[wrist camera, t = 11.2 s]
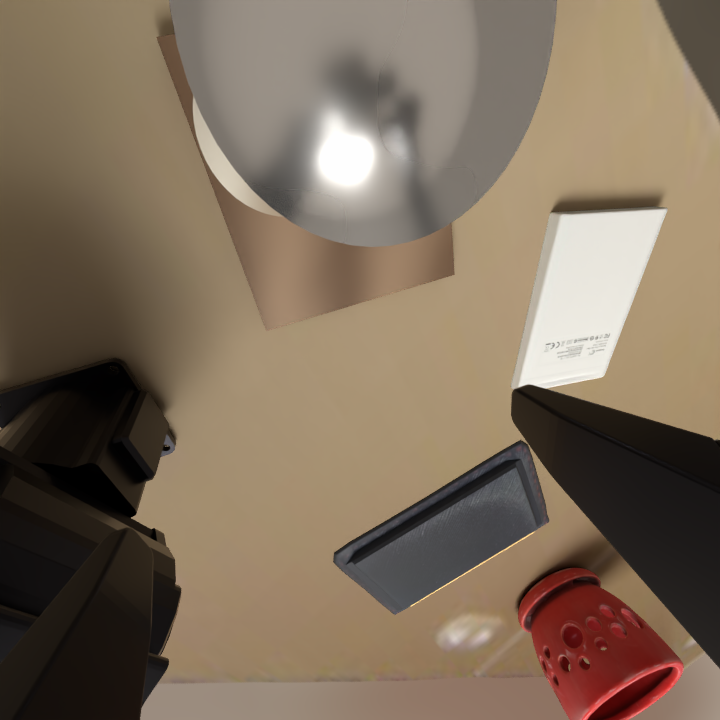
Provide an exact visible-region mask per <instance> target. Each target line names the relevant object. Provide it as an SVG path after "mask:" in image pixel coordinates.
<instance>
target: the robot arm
mask: <svg viewBox="0 0 720 720" xmlns="http://www.w3.org/2000/svg"><path fill="white" fill-rule="evenodd" d="M110 366H115V367H117V368H118V369H119V371H113V370H112V369H111V368H110ZM0 405H1V406H0V427H1V428H2V429H1V430H0V720H140V714H141V708H142V706H143V704H144V702H145V701H146V699H147V698H148V696H149V695H150V693H151V692H152V690H153V689H154V687H155V686H156V685H157V683H158V682H159V680H160V679H161V677H162V676H163V674H164V673H165V671H166V670H167V667H168V665H169V660H168V658H165V657H162V656H161V654H162V652H163V650H164V648H165V645H166V643H167V641H168V638H169V636H170V633H171V629H172V626H173V623H174V620H175V618H176V615H177V611H178V607H179V602H180V598H181V587H180V586H178V585H176V584H175V582H176V576H175V559H174V557H173V555H172V554H171V552H170V550H169V548H168V547H166V542H165V537H164V533H162V532H160V531H158V530H157V529H155V528H153V529H149V528H148V527H146V526H144V525H142V524H140V523H139V522H137V521H135V520H133V519H131V517H133V516H135V515H136V513H137V510H138V507H139V503H140V500H141V497H142V493H143V490H144V487H145V483H146V482H147V481H149V480H152V479H153V478H154V476H155V474H156V471H157V467H158V464H159V460H160V457H162V456H165V455H168V454H170V453H172V452H173V451H174V450H175V445H176V441H175V439H174V438H173V436H172V435H171V433H170V432H169V430H168V428H169V424H168V422H167V420H166V419H165V417H164V416H163V414H162V412H161V411H160V409H159V408H158V406H157V405H156V403H155V401H154V400H153V398H152V397H151V395H150V394H149V392H148V391H146V390H143V389H142V388H141V387H140V385H139V383H138V382H137V380H136V379H135V377H134V376H133V374H132V372H131V371H130V369H129V368H128V366H127V365H126V363H125V362H124V361H122V360H120V359H117V358H111V359H107V360H104V361H100V362H97V363H94V364H90V365H87V366H83V367H80V368H77V369H73V370H70V371H66V372H63V373H60V374H56V375H53V376H49V377H46V378H43V379H39V380H36V381H32V382H29V383H25V384H22V385H19V386H15V387H12V388H8V389H5V390H2V391H0ZM511 416H512V420H513V422H514V424H515V425H516V427H517V428H518V430H519V431H520V433H521V434H522V435H523V437H524V438H525V440H526V441H527V442H528V444H529V445H530V447H531V448H532V449H533V451H534V452H535V454H536V455H537V457H538V458H539V459H540V461H541V462H542V464H543V465H544V466H545V468H546V469H547V470H548V472H549V473H550V474H551V476H552V477H553V478H554V479H555V480H556V482H557V483H558V484H559V485H560V486H561V487H562V489H563V490H564V491H565V492H566V493H567V494H568V495H569V497H570V498H571V499H572V500H573V501H574V502H575V503H576V505H577V506H578V507H579V508H580V509H581V510H582V511H583V513H584V514H585V515H586V516H587V517H588V518H589V519H590V521H591V522H592V523H593V524H594V525H595V526H596V528H597V529H598V530H599V531H600V532H601V533H602V534H603V536H604V537H605V538H606V539H607V540H608V541H609V542H610V544H611V545H612V546H613V547H614V548H615V549H616V550H617V552H618V553H619V554H620V555H621V556H622V557H623V558H624V560H625V561H626V562H627V563H628V564H629V565H630V566H631V568H632V569H633V570H634V571H635V572H636V573H637V574H638V576H639V577H640V578H641V579H642V580H643V581H644V582H645V584H646V585H647V586H648V587H649V588H650V589H651V591H652V592H653V593H654V594H655V595H656V596H657V597H658V599H659V600H660V601H661V602H662V603H663V604H664V605H665V607H666V608H667V609H668V610H669V611H670V612H671V613H672V615H673V616H674V617H675V618H676V619H677V620H678V621H679V623H680V624H681V625H682V626H683V627H684V628H685V629H686V631H687V632H688V633H689V634H690V635H691V636H692V637H693V639H694V640H695V641H696V642H697V643H698V644H699V645H700V647H701V648H702V649H703V650H704V651H705V652H706V654H707V655H708V656H709V657H710V658H711V659H712V660H713V662H714V663H715V664H716V665H717V666H718V667H719V668H720V440H713V439H712V438H710V437H707V436H704V435H700V434H697V433H694V432H690V431H687V430H683V429H680V428H677V427H673V426H670V425H666V424H663V423H660V422H656V421H653V420H650V419H646V418H643V417H639V416H636V415H633V414H629V413H626V412H623V411H619V410H616V409H612V408H609V407H606V406H602V405H599V404H596V403H592V402H589V401H585V400H582V399H579V398H575V397H572V396H568V395H565V394H562V393H558V392H555V391H552V390H548V389H545V388H541V387H538V386H535V385H531V384H527V385H524V386H521V387H518V388H516V389H514V390H513V392H512V403H511ZM164 445H169V447H165V446H164Z"/></svg>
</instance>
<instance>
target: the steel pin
mask: <svg viewBox="0 0 720 720" xmlns="http://www.w3.org/2000/svg"><path fill="white" fill-rule="evenodd" d="M169 3H170V11H171V16H172V21H173V27H174V32H175V37H176V43H177V47H178V51H179V54H180V57H181V61H182V64H183V67H184V71H185V74H186V78H187V81H188V84H189V86H190V89H191V91H192V93H193V96H194V98H195V101H196V103H197V106H198V108H199V111H200V113H201V115H202V117H203V119H204V121H205V123H206V125H207V126H208V128H209V130H210V132H211V134H212V136H213V138H214V139H215V141H216V143H217V145H218V146H219V148H220V149H221V151H222V152H223V154H224V155H225V156H226V158H227V159H228V161H229V162H230V164H231V165H232V167H233V168H234V169H235V171H236V172H237V173H238V174H239V175H240V176H241V178H242V179H243V180H244V181H245V182H246V183H247V185H248V186H249V187H250V188H251V189H252V190H253V191H254V192H255V193H256V194H257V195H258V196H259V197H260V198H261V199H262V200H263V201H264V202H266V203H267V204H268V205H269V206H270V207H271V208H272V209H274V210H275V211H276V212H278V213H279V214H281V215H282V216H283V217H285V218H286V219H288V220H289V221H290V222H292V223H294V224H295V225H297V226H299V227H301V228H303V229H305V230H307V231H308V232H310V233H312V234H315V235H318V236H320V237H323V238H326V239H328V240H331V241H335V242H339V243H344V244H348V245H354V246H366V247H379V246H392V245H397V244H402V243H407V242H411V241H414V240H416V239H419V238H422V237H425V236H428V235H430V234H432V233H434V232H436V231H438V230H440V229H442V228H444V227H445V226H447V225H448V224H450V223H451V222H453V221H454V220H456V219H457V218H459V217H460V216H462V215H463V214H464V213H465V212H466V211H468V210H469V209H470V208H471V207H472V206H473V205H475V204H476V203H477V202H478V201H479V200H480V199H481V198H482V197H483V196H484V195H485V193H486V192H487V191H488V190H489V189H490V188H491V187H492V186H493V185H494V183H495V182H496V181H497V179H498V178H499V177H500V175H501V174H502V173H503V171H504V170H505V169H506V167H507V166H508V164H509V162H510V161H511V159H512V157H513V156H514V154H515V152H516V151H517V149H518V148H519V146H520V143H521V141H522V139H523V137H524V135H525V133H526V131H527V129H528V127H529V125H530V123H531V120H532V117H533V115H534V112H535V110H536V107H537V104H538V102H539V99H540V95H541V92H542V88H543V85H544V82H545V78H546V75H547V70H548V65H549V60H550V55H551V50H552V45H553V37H554V28H555V20H556V4H557V0H169Z"/></svg>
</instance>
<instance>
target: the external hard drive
mask: <svg viewBox="0 0 720 720" xmlns="http://www.w3.org/2000/svg"><path fill="white" fill-rule="evenodd" d="M666 212H667V208H664V207H639V208H621V209H604V210H586V211H567V212H551V213H550V215H549V220H548V224H547V229H546V233H545V237H544V242H543V246H542V251H541V255H540V260H539V264H538V269H537V273H536V277H535V282H534V286H533V291H532V295H531V300H530V304H529V308H528V313H527V317H526V322H525V326H524V330H523V335H522V339H521V344H520V348H519V352H518V357H517V361H516V366H515V370H514V375H513V379H512V383H511V387H512V388H513V389H516V388H518V387H521V386H524V385H527V384H531V385H535V386H538V387H541V388H549V387H555V386H560V385H565V384H570V383H576V382H580V381H585V380H591V379H596V378H601V377H603V376H604V375H605V372H606V370H607V367H608V365H609V361H610V359H611V356H612V354H613V351H614V349H615V346H616V343H617V341H618V338H619V336H620V333H621V330H622V328H623V325H624V323H625V320H626V317H627V315H628V312H629V310H630V307H631V304H632V302H633V299H634V297H635V294H636V291H637V289H638V286H639V283H640V281H641V278H642V276H643V273H644V270H645V268H646V265H647V262H648V260H649V257H650V255H651V252H652V249H653V247H654V244H655V241H656V239H657V236H658V233H659V231H660V228H661V225H662V223H663V220H664V217H665V215H666Z"/></svg>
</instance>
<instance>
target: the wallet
mask: <svg viewBox="0 0 720 720" xmlns="http://www.w3.org/2000/svg"><path fill="white" fill-rule="evenodd" d="M548 522H549V518H548V515H547V511H546V504H545V501H544V497H543V493H542V490H541V486H540V483H539V479H538V476H537V472H536V469H535V465H534V462H533V458H532V455H531V453H530V450H529V447H528V445H527V444H526V443H524V442H522V441H521V440H520V441H518V442H516V443H515V444H513V445H511V446H509V447H508V448H506V449H504V450H502V451H500V452H499V453H497V454H496V455H494V456H492V457H491V458H489V459H487V460H486V461H484V462H482V463H481V464H479V465H477V466H476V467H474V468H473V469H471V470H469V471H468V472H466V473H464V474H463V475H461V476H460V477H458V478H456V479H455V480H453V481H452V482H450V483H448V484H447V485H445V486H443V487H442V488H440V489H439V490H437V491H435V492H434V493H432V494H430V495H429V496H427V497H426V498H424V499H422V500H421V501H419V502H417V503H416V504H414V505H412V506H410V507H409V508H407V509H405V510H404V511H402V512H400V513H399V514H397V515H395V516H394V517H392V518H390V519H388V520H387V521H385V522H383V523H382V524H380V525H378V526H377V527H375V528H373V529H372V530H370V531H368V532H366V533H365V534H363V535H361V536H359V537H358V538H356V539H354V540H352V541H351V542H349V543H348V544H346V545H345V546H343V547H342V548H341V549H339V550H338V551H336V552H335V553H334V560H333V562H334V563H335V564H336V565H337V566H338V567H339V568H340V569H341V570H342V571H343V572H344V573H345V574H346V575H348V576H349V577H350V578H351V579H353V580H354V581H355V582H356V583H358V584H359V585H360V586H361V587H363V588H364V589H365V590H366V591H367V592H368V593H370V594H371V595H372V596H373V597H374V598H375V599H376V600H377V601H379V602H380V603H381V604H382V605H383V606H385V607H386V608H387V609H388V610H389V611H391V612H392V613H393V614H395V615H396V614H397V613H399V612H401V611H403V610H405V609H406V608H408V607H410V606H412V605H414V604H416V603H417V602H419V601H421V600H422V599H424V598H426V597H427V596H429V595H431V594H432V593H434V592H436V591H437V590H439V589H441V588H442V587H444V586H446V585H447V584H449V583H451V582H452V581H454V580H456V579H457V578H459V577H461V576H462V575H464V574H466V573H467V572H469V571H471V570H472V569H474V568H476V567H477V566H479V565H481V564H482V563H484V562H486V561H487V560H489V559H491V558H492V557H494V556H496V555H497V554H499V553H501V552H503V551H504V550H506V549H508V548H509V547H511V546H513V545H514V544H516V543H518V542H519V541H521V540H523V539H524V538H526V537H528V536H529V535H531V534H533V533H534V531H536V530H537V529H538V528H540V527H541V526H543V525H545V524H546V523H548Z"/></svg>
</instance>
